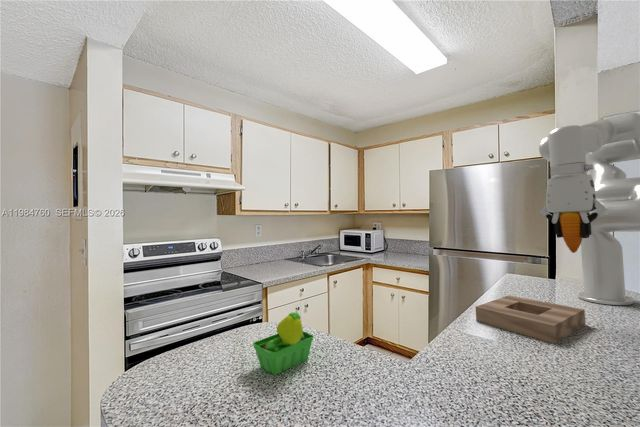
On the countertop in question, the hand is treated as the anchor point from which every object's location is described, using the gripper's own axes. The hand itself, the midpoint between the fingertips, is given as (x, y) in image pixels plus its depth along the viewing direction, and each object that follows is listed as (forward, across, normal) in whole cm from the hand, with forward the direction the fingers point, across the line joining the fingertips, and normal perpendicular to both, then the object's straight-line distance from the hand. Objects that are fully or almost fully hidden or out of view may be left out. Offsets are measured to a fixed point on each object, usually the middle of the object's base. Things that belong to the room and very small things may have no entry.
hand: (572, 236), depth 79 cm
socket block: (+22, +6, +14) cm, 27 cm away
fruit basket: (+22, +25, +76) cm, 83 cm away
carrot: (+5, 0, 0) cm, 5 cm away
